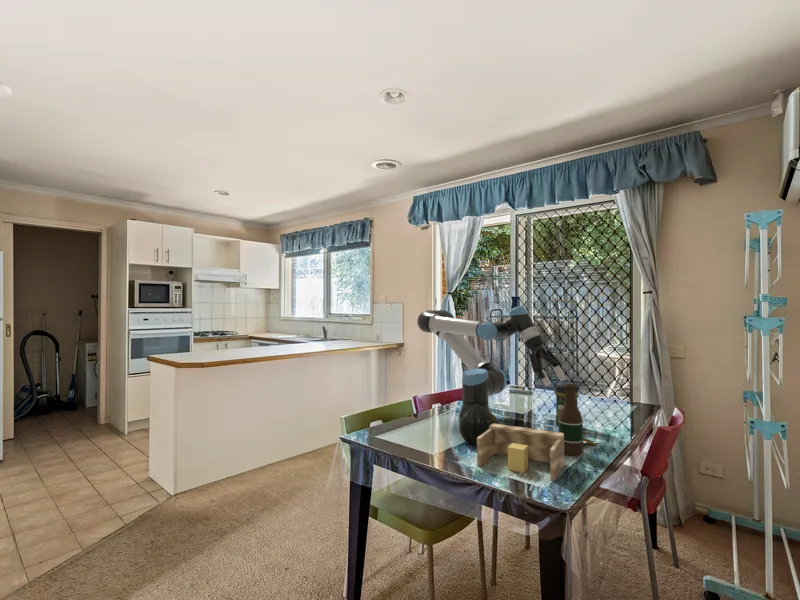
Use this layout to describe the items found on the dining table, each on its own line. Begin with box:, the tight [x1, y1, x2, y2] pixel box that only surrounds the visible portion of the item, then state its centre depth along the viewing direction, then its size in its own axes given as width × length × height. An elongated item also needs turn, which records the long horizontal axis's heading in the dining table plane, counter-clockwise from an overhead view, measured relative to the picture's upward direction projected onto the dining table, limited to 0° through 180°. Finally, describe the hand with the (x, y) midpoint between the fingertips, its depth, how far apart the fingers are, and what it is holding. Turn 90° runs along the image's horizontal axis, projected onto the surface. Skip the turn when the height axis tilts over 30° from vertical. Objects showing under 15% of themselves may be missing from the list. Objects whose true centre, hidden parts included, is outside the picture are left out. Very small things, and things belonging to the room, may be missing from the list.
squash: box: [459, 404, 500, 445], centre depth 159 cm, size 14×15×15 cm
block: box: [507, 443, 529, 473], centre depth 132 cm, size 5×5×7 cm
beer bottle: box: [558, 383, 584, 457], centre depth 147 cm, size 8×8×24 cm
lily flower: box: [583, 431, 597, 449], centre depth 158 cm, size 12×12×5 cm
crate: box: [476, 423, 565, 482], centre depth 135 cm, size 24×16×10 cm, turn 59°
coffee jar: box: [554, 382, 579, 428], centre depth 181 cm, size 10×8×19 cm
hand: (556, 382), depth 177 cm, fingers open, 13 cm apart
